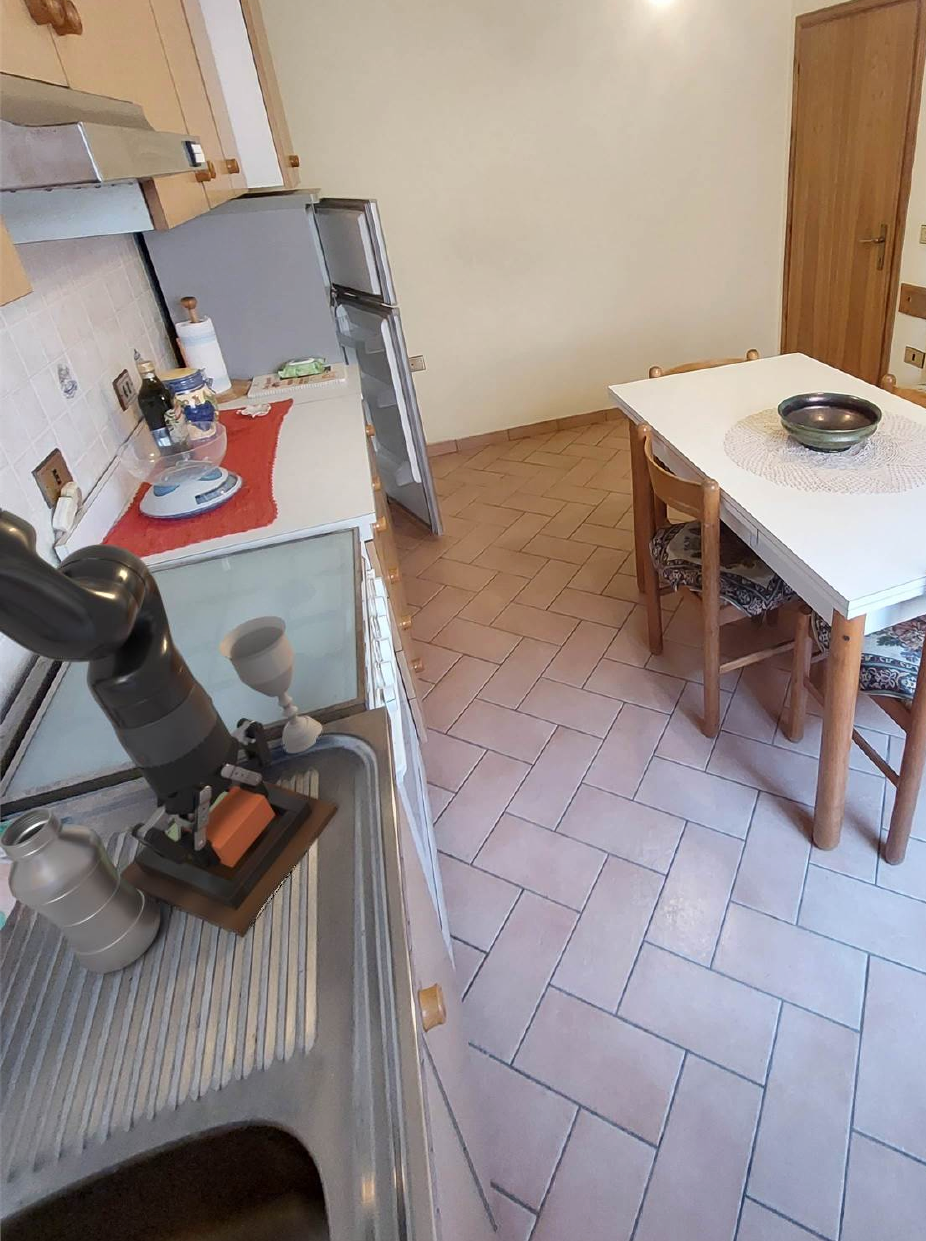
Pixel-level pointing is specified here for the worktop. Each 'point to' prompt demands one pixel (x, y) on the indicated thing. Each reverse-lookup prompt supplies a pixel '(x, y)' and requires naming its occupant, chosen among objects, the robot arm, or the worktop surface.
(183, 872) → the back frame
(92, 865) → the metal milk can
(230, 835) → the terracotta pad
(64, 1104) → the worktop surface
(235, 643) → the chalice
